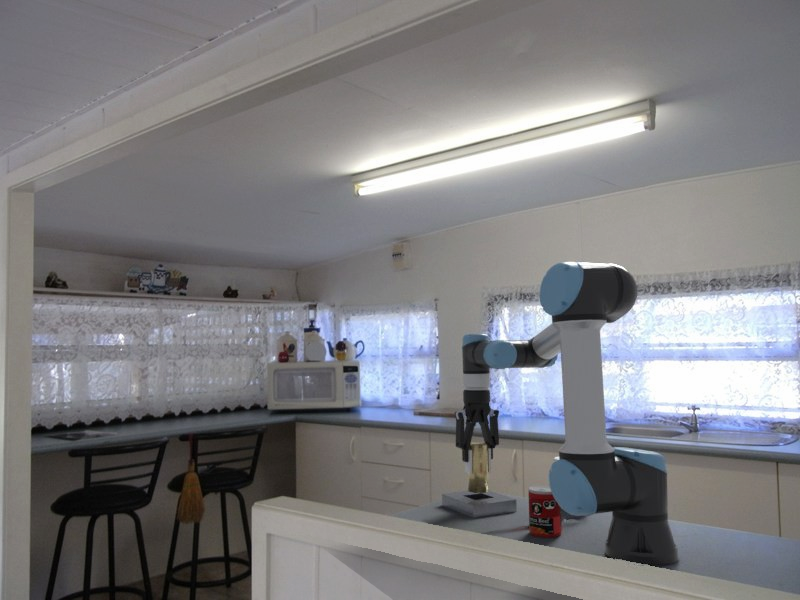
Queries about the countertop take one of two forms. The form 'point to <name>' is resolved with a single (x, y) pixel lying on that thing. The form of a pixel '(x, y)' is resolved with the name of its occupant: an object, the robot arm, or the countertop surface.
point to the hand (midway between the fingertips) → (478, 472)
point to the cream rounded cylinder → (479, 468)
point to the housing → (479, 503)
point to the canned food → (544, 512)
